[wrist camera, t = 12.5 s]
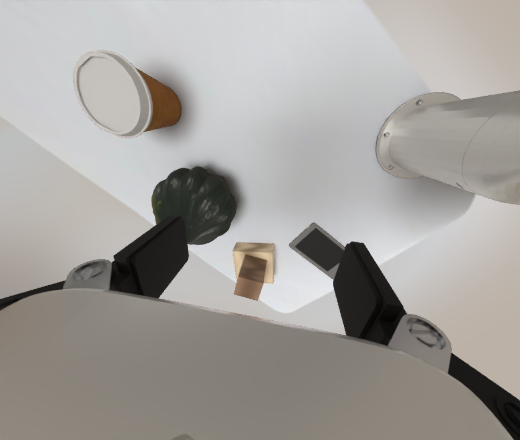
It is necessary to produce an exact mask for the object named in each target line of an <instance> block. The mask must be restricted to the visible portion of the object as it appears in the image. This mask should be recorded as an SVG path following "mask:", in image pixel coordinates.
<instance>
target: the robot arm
mask: <svg viewBox="0 0 520 440" xmlns="http://www.w3.org/2000/svg"><path fill="white" fill-rule="evenodd" d="M416 102H417V104H416ZM384 133H385V136H384ZM376 153H377V159H378V161H379V163H380V165H381V166H382V168H383V169H384V170H385V171H387V172H388V173H390V174H392V175H394V176H396V177H399V178H406V179H411V178H419V177H423V176H426V177H429V178H432V179H435V180H437V181H440V182H443V183H446V184H449V185H452V186H455V187H457V188H460V189H463V190H466V191H469V192H472V193H475V194H477V195H481V196H484V197H487V198H490V199H493V200H496V201H500V202H504V203H510V204H518V205H520V91H514V92H508V93H502V94H496V95H490V96H483V97H478V98H471V99H464V100H461V99H460V98H458V97H456V96H454V95H452V94H449V93H444V92H441V93H440V92H439V93H438V92H435V93H429V94H425V95H421V96H418V97H416V98H413V99H411V100H409V101H407V102H406V103H404V104H403V105H402V106H400V107H399V108H398V109H397V110H396V111H394V112H393V113H392V114H391V116H390V117H389V118H388V119H387V120H386V122H385V124H384V125H383V127H382V129H381V131H380V133H379V136H378V140H377V144H376ZM389 166H390V167H389ZM388 167H389V168H388ZM188 257H189V254H188V245H187V237H186V228H185V221H184V219H182V217H181V216H176V215H169V216H168V217H166V218H165V219H164V220H162V221H161V222H160V223H158V224H157V225H155V226H154V227H153V228H151V229H150V230H149V231H147V232H146V233H144V234H143V235H142V236H140V237H139V238H137V239H136V240H135V241H134V242H132V243H131V244H129V245H128V246H126V247H125V248H124V249H122V250H121V251H120V252H118V253H117V254H115V255H114V259H115V261H113V262H112V263H111V262H110V261H109V260H105V259H98V260H92V261H89V262H86V263H83V264H81V265H79V266H77V267H76V268H74V269H73V270H72V271H71V272H70V273H69V275H68V276H67V279H66V280H65V281H62V282H58V283H55V284H51V285H48V286H44V287H41V288H37V289H34V290H30V291H27V292H24V293H20V294H16V295H13V296H10V297H6V298H3V299H0V440H520V400H519V399H517V398H516V397H514V396H513V395H511V394H510V393H508V392H507V391H506V390H504V389H503V388H501V387H500V386H498V385H497V384H496V383H494V382H493V381H491V380H490V379H488V378H487V377H486V376H484V375H482V374H481V373H480V372H478V371H477V370H475V369H474V368H473V367H471V366H470V365H468V364H467V363H465V362H464V361H462V360H461V359H459V358H458V357H457V356H455V355H454V354H453V353H451V350H452V348H451V343H450V341H449V339H448V338H447V336H446V335H445V334H444V333H443V332H442V331H441V330H440V329H439V328H438V327H437V326H436V325H434V324H433V323H431V322H430V321H428V320H426V319H424V318H423V317H420V316H417V315H413V314H407V313H406V311H405V310H404V308H403V305H402V304H401V302H400V301H399V299H398V297H397V296H396V294H395V293H394V291H393V290H392V288H391V286H390V284H389V283H388V281H387V280H386V278H385V276H384V275H383V273H382V272H381V270H380V269H379V267H378V265H377V264H376V262H375V261H374V259H373V257H372V256H371V254H370V253H369V251H368V249H367V248H366V246H365V245H364V243H359V242H351V243H350V244H347V245H346V247H345V250H344V252H343V255H342V258H341V261H340V264H339V266H338V269H337V272H336V275H335V277H334V280H333V287H334V291H335V294H336V298H337V302H338V306H339V309H340V313H341V317H342V320H343V324H344V327H345V331H346V335H341V334H336V333H331V332H327V331H322V330H318V329H313V328H307V327H302V326H298V325H293V324H287V323H283V322H277V321H273V320H268V319H263V318H257V317H251V316H247V315H242V314H237V313H232V312H227V311H221V310H216V309H211V308H205V307H201V306H195V305H190V304H185V303H179V302H174V301H169V300H164V299H158V298H159V297H160V295H161V294H162V293H163V292H164V290H165V289H166V288H167V286H168V285H169V284H170V283H171V281H172V280H173V279H174V277H175V276H176V275H177V273H178V272H179V271H180V269H181V268H182V267H183V266H184V264H185V263H186V262H187V260H188Z"/></svg>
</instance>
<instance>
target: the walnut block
mask: <svg viewBox="0 0 520 440" xmlns="http://www.w3.org/2000/svg"><path fill="white" fill-rule="evenodd" d="M266 263H267V260H265V259H261V258H257V257H254V256H250V255H246V254H245V257H244V260H243V263H242V266H241V269H240V272H239V275H238V279H237V283H236V288H235V292H234V294H235V295H239V296H242V297H246V298H250V299H253V300H257V301H258V298H259V295H260V292H261V289H262V286H263V283H264V276H265V269H266Z"/></svg>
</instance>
